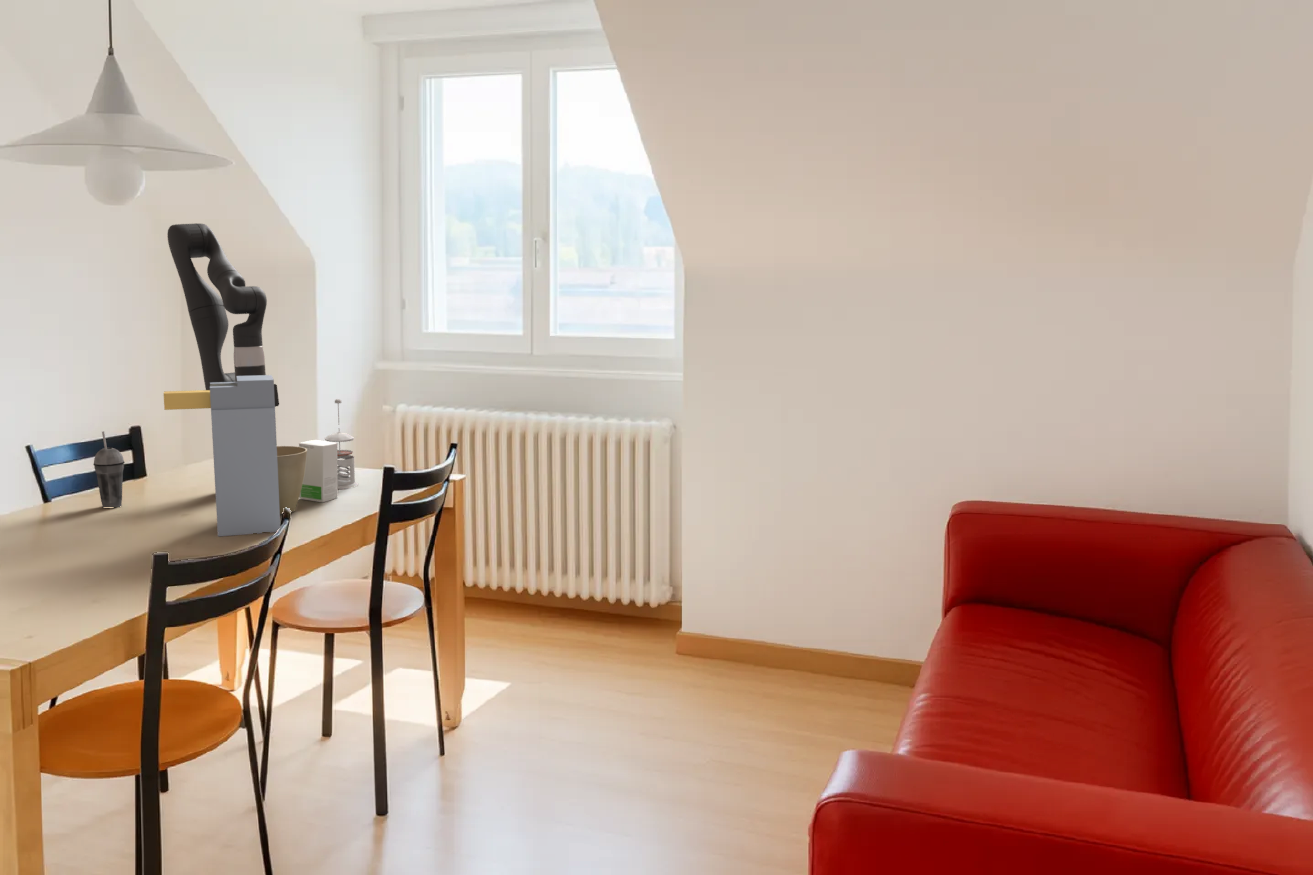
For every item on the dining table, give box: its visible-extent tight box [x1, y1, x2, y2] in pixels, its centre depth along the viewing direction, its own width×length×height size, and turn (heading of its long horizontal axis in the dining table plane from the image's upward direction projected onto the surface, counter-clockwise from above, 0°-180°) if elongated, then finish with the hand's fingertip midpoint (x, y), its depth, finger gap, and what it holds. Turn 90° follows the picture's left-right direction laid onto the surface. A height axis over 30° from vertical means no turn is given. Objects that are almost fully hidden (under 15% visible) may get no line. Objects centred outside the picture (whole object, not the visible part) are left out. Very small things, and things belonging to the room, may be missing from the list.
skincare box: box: [298, 439, 338, 503], centre depth 298 cm, size 8×7×16 cm
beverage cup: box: [93, 431, 125, 508], centre depth 285 cm, size 7×7×20 cm
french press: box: [324, 398, 359, 490], centre depth 314 cm, size 10×12×25 cm
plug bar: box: [163, 389, 211, 411], centre depth 260 cm, size 24×4×4 cm, turn 111°
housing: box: [210, 374, 281, 537], centre depth 264 cm, size 14×11×37 cm
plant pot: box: [277, 445, 307, 515], centre depth 283 cm, size 15×15×16 cm
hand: (254, 425), depth 289 cm, fingers open, 8 cm apart
